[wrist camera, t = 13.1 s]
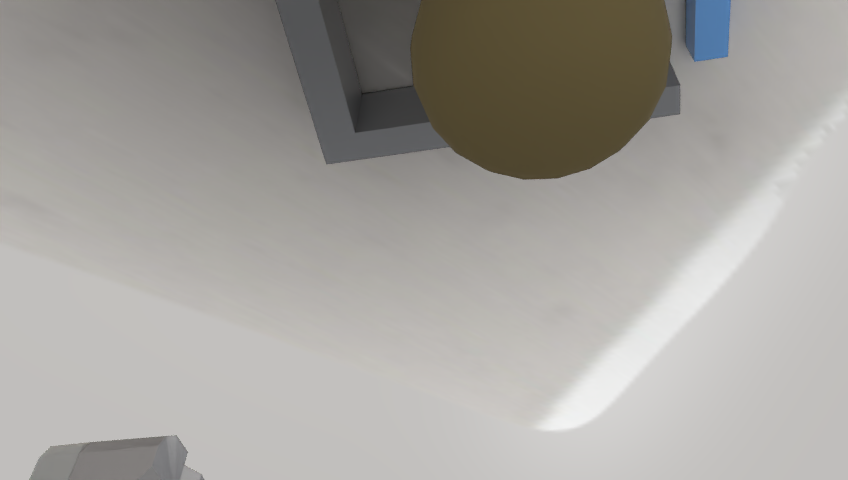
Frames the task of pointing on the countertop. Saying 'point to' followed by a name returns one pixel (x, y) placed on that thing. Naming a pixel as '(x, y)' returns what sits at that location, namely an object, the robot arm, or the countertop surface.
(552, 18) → the cork
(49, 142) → the countertop surface
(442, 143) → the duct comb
